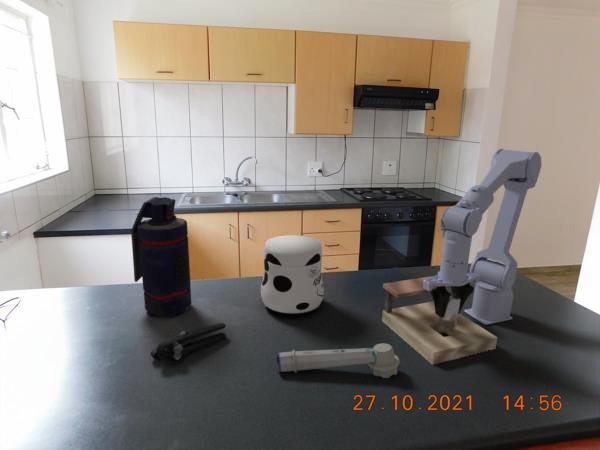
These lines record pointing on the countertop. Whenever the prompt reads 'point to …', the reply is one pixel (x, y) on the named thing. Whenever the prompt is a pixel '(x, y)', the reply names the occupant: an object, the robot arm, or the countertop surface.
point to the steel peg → (451, 312)
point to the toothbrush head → (341, 359)
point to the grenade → (162, 258)
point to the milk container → (292, 274)
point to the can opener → (175, 351)
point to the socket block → (432, 326)
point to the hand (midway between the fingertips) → (447, 313)
